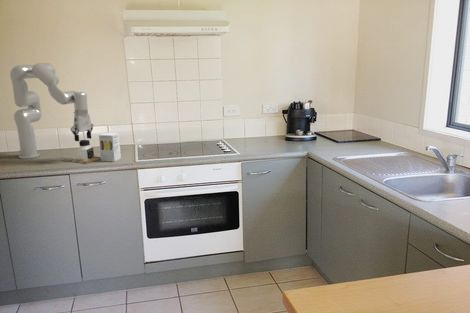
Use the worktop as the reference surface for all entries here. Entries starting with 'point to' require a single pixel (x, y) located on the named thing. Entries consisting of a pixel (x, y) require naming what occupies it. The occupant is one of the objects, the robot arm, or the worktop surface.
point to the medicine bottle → (85, 150)
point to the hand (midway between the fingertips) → (83, 139)
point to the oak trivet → (86, 160)
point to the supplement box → (109, 147)
